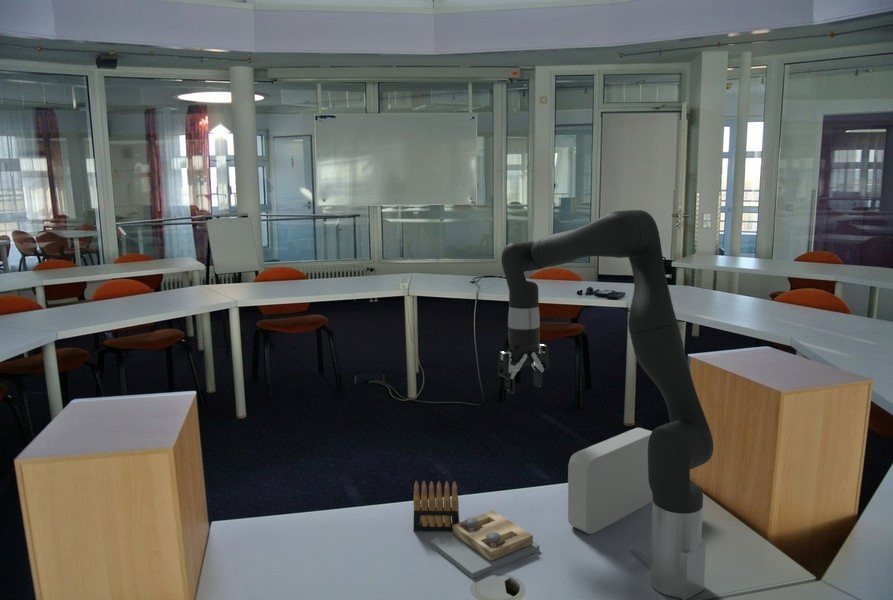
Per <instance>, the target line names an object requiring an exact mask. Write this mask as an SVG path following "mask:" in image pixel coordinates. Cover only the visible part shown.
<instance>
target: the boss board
mask: <svg viewBox="0 0 893 600" xmlns="http://www.w3.org/2000/svg"><path fill="white" fill-rule="evenodd" d="M464 521H465V526H466V527H469V530H468V531H467V532H469V533H470V532H473V531H476V530H475V529H474V527H476V526H478V520H477V519H475V518H474V517H467V518H465V519H464ZM480 529H481V528H480ZM477 530H478V529H477ZM486 540H487V541H488V542H490V543H491V545H490V546H489V547H490V548H494V547H497V546H499V545H502V544H504V543H502V544H499V545H497V544H496V543H497V542H499V541H500V534H498V533H495V532H491V533H488V534H487V535H486ZM429 546H430V547H432V548H433V549H434V550H435V551H436V552H438V553H439V554H441V555H442V556H443V557H444V558H446V559H447V560H448V561H449V562H450V563H452V564H453V565H454V566H455V567H457V568H458V569H460V570H461V571H462V572H463V573H465V574H466V575H467V576H468V577H469V578H471V579H475V578H478V577H480V576H483V575H485V574H487V573H490V572H492V571H495V570H497V569H499V568H502V567H503V566H507V565H508V564H511V563H513V562H516V561H518V560H520V559H523V558H525V557H527V556H531V555H533V554H534V553H535V554H536V553H538V552H540V545H539V544H538V543H536V542H535V541H533V544H531V545H529V546H526V547H524V548H521V549H519V550H516V551H514V552H512V553H509V554H507V555H504V556H502V557H499V558H497V559H494V560H492V561H490V560H489V559H488V558H486V557H485V556H483V555H482V554H481V553H479V552H478V551H477V550H475V549H474V548H472V547H471V546H470V545H468V544H467V543H465V542H464V541H463V540H461V539H460V538H459V537H457V536H456V535H454V534H453V532H447V533H446V534H444V535H441V536H438V537H434V538H433V539H430V540H429Z"/></svg>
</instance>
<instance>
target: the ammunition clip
mask: <svg viewBox="0 0 893 600" xmlns="http://www.w3.org/2000/svg"><path fill="white" fill-rule="evenodd" d="M419 485H420V484H419V482H418V480H415V482H414V487H413V528H412V529H413V532H427V533H428V532H432V533H433V532H436V533H437V532H439V533H440V532H441V533H442V532H443V533H444V532H446V533H451V532H453V525H454V524H457V523H460V513H459V512H460V511H459V510H460V509H459V508H460V507H459V495H458V487H457V483H456V481H455V480H454V481H453V482H452V487H451V493H450V486H449V485H450V484H449V482H448V481H447V480H446V481H445V484H444V490H442V484H441V481H440V480H438V481H437V484H436V494H435V486H434V482H433V481H432V480H431V481H430V483H429V488H428V489H427V485H426V481H425V480H423V481H422V484H421V495H420V487H419ZM443 491H444V493H443ZM435 495H436V496H435Z"/></svg>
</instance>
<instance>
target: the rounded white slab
mask: <svg viewBox="0 0 893 600" xmlns="http://www.w3.org/2000/svg"><path fill="white" fill-rule="evenodd" d="M652 431H653V430H649V429H645V428H642V427H635V428H633V429H630V430H627V431H625V432H623V433H620V434H618V435H614V436H613V437H610V438H607V439H606V440H603V441H601V442H598V443H595V444H593V445H590V446H588V447H586V448H583V449H581V450H578V451H577V452H574V453H572V455H571V456H570V459H569V462H568V467H567V469H568V470H567V471H568V472H567V473H568V475H567V520H568V524H569V525H570V526H571V527H573V528H574V529H577V530H579V531H582V532H583V533H586V534H587V535H593V534H596V533H597V532H599V531H602V530H603V529H604V528H607V527H608V526H611V525H612V524H614V523H616V522H617V521H620V520H621V519H623V518H625V517H627V516H629V515H631V514H633V513H634V512H636V511H638V510H640V509H642V508H643V507H646V506H648V505H649V504H652V491H651V488H650V485H649V480H648V441H649V437H650V435H651V433H652Z"/></svg>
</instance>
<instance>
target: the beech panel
mask: <svg viewBox="0 0 893 600" xmlns="http://www.w3.org/2000/svg"><path fill="white" fill-rule="evenodd" d="M473 518H475V519H477V520H478V526H476V527H474V529H475V530H476V531H473V532H470V533H469V532H467V531H468V530H469V527H466V526H465V520H463V521H459V523H457V524H454V525H453V534H454V535H456V536H457V537H459V538H460V539H461V540H463V541H464V542H465V543H467V544H468V545H470V546H471V547H472V548H474V549H475V550H477V551H478V552H479V553H481V554H482V555H483V556H485V557H486V558H488V559H489V560H490V561H492V560H494V559H497V558H499V557H502V556H504V555H507V554H509V553H512V552H514V551H516V550H519V549H521V548H524V547H526V546H529V545H531V544H533V542H534V535H533V534H531V533H530V532H529V531H527V530H525V529H524V528H523V527H521V526H518V525H517V524H515V523H514V522H512V521H511V520H509V519H507V518H506V517H505V516H503V515H501V514H500V513H498V512H496V511H495V510H491V511H488V512H486V513H483V514H480V515H477V516H475V517H474V516H473ZM480 528H481V529H480ZM477 529H478V530H477ZM491 532H495V533H498V534H500V541H499V542H497V543H496V544H497V545H499V544H502V543H504V544H502V545H499V546H497V547H494V548H490V547H489V546H490V545H491V543H490V542H488V541H487V540H486V535H487V534H488V533H491Z"/></svg>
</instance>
